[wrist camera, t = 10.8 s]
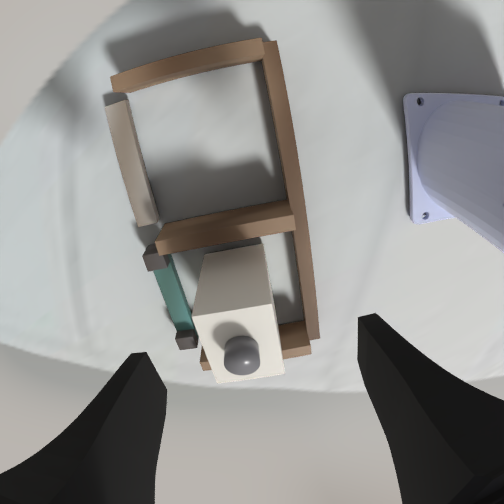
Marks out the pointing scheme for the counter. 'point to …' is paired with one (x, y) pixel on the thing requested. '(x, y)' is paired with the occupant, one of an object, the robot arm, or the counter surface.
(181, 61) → the slot rack
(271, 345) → the plug
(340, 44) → the counter surface
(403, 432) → the robot arm
